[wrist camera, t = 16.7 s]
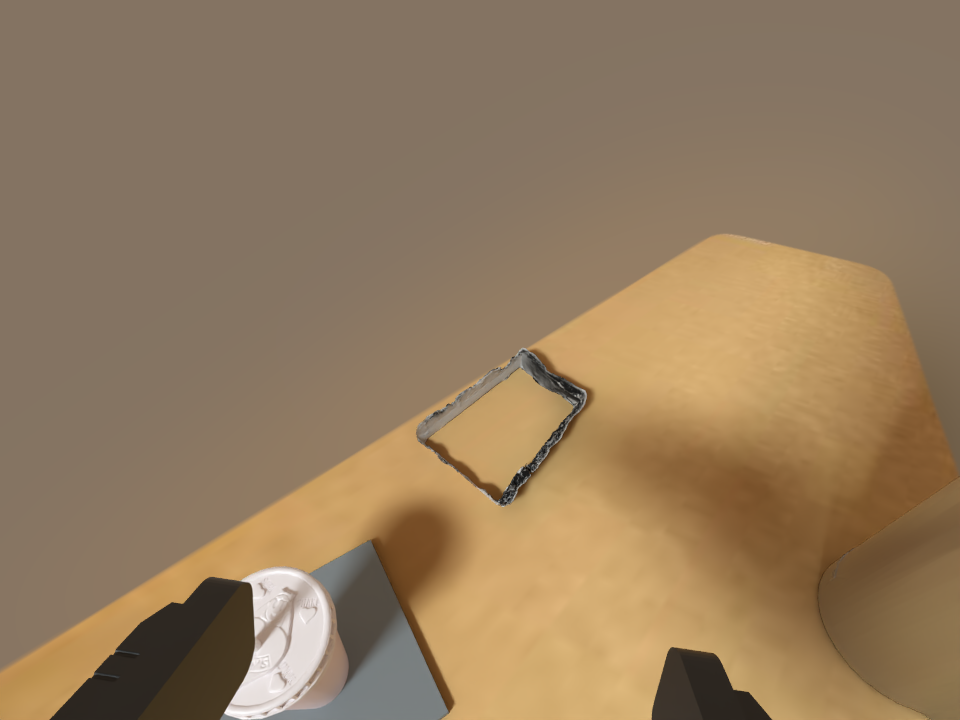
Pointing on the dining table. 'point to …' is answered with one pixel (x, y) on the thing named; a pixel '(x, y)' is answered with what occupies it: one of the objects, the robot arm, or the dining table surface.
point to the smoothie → (291, 647)
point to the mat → (372, 648)
